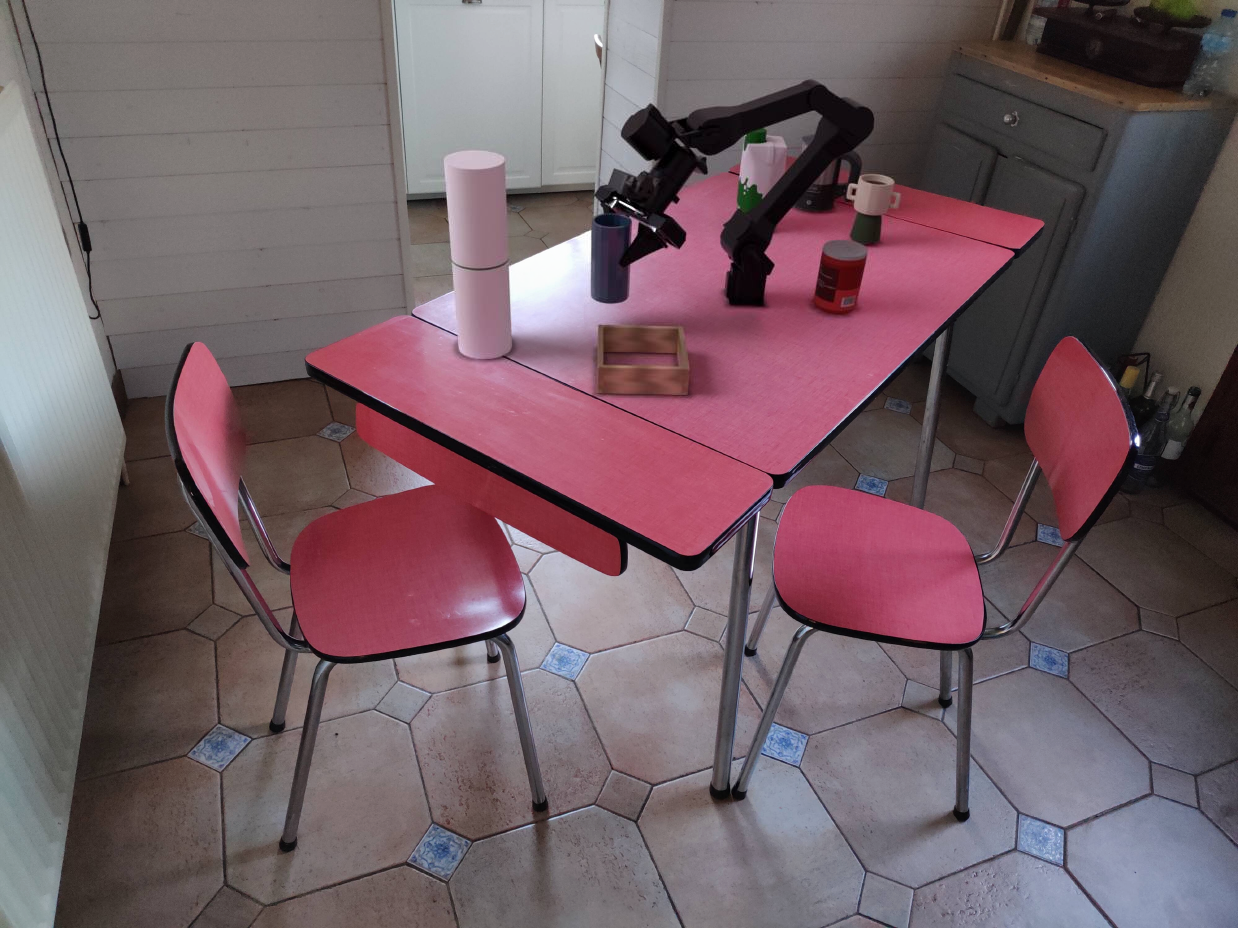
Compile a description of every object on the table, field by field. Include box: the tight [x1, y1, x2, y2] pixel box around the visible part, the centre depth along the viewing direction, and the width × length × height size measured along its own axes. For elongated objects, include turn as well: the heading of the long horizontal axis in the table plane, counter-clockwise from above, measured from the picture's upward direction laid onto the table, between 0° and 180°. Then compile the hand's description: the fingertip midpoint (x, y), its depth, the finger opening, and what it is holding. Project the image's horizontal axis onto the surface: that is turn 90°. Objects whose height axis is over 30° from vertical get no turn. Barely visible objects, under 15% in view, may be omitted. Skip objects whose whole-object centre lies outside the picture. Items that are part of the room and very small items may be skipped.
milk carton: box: [736, 128, 788, 212], centre depth 185 cm, size 9×9×20 cm
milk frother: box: [793, 133, 863, 213], centre depth 200 cm, size 14×16×15 cm
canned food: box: [813, 239, 869, 316], centre depth 157 cm, size 8×8×11 cm
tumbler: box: [590, 213, 633, 305], centre depth 145 cm, size 6×6×13 cm
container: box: [443, 149, 513, 360], centre depth 135 cm, size 9×9×30 cm
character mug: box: [847, 173, 902, 245], centre depth 182 cm, size 11×7×13 cm, turn 61°
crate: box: [596, 324, 691, 396], centre depth 138 cm, size 14×14×4 cm
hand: (608, 258), depth 145 cm, fingers closed on tumbler, 6 cm apart
